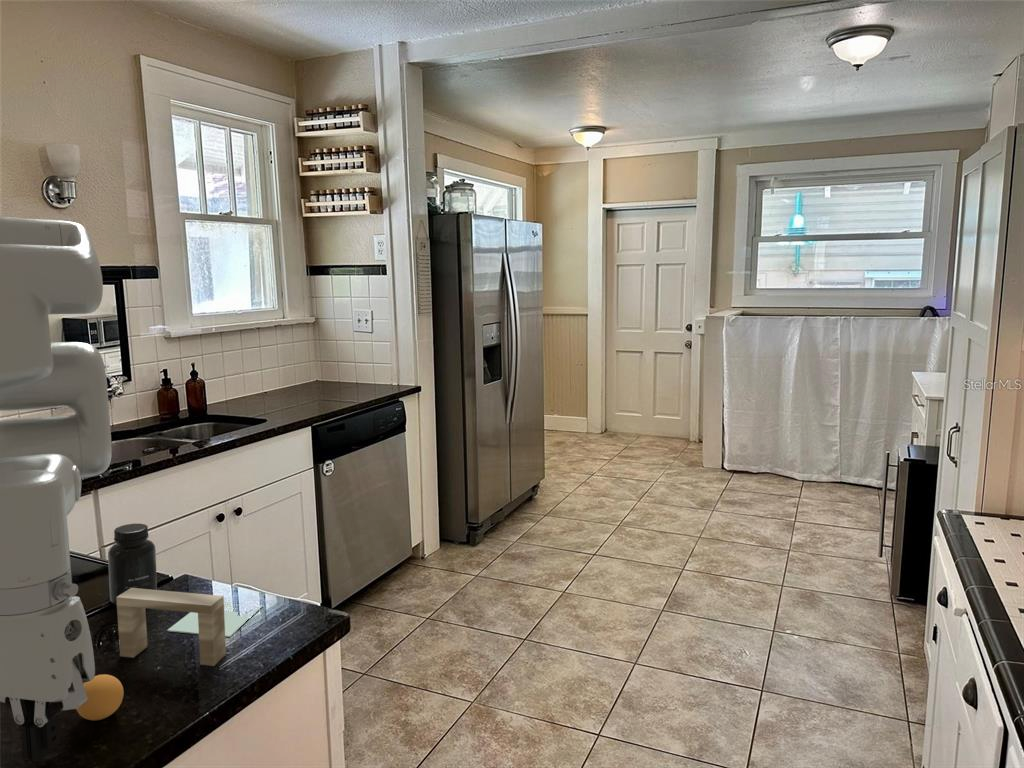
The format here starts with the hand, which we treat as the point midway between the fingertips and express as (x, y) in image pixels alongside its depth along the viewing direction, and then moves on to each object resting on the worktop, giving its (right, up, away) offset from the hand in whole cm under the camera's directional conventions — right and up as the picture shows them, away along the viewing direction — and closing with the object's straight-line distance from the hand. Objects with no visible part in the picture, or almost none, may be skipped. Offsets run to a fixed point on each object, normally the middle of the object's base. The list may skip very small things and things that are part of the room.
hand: (42, 751), depth 75 cm
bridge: (+3, +2, +22) cm, 23 cm away
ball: (+1, +2, +8) cm, 9 cm away
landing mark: (+5, +3, +33) cm, 34 cm away
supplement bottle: (-11, +4, +39) cm, 41 cm away
